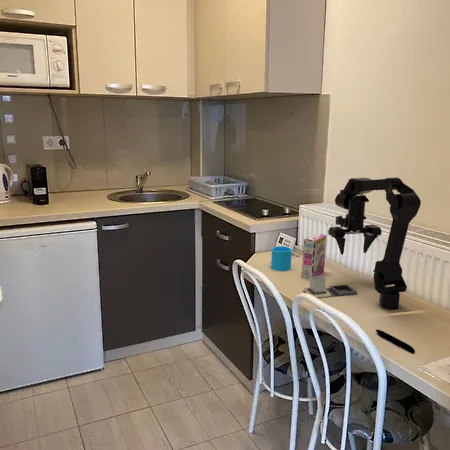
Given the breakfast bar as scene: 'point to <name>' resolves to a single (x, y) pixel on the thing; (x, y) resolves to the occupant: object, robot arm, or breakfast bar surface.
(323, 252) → the candy bar box
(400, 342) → the pen
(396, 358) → the breakfast bar surface
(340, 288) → the dark grey double tray
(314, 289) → the block
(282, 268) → the mug
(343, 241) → the robot arm
